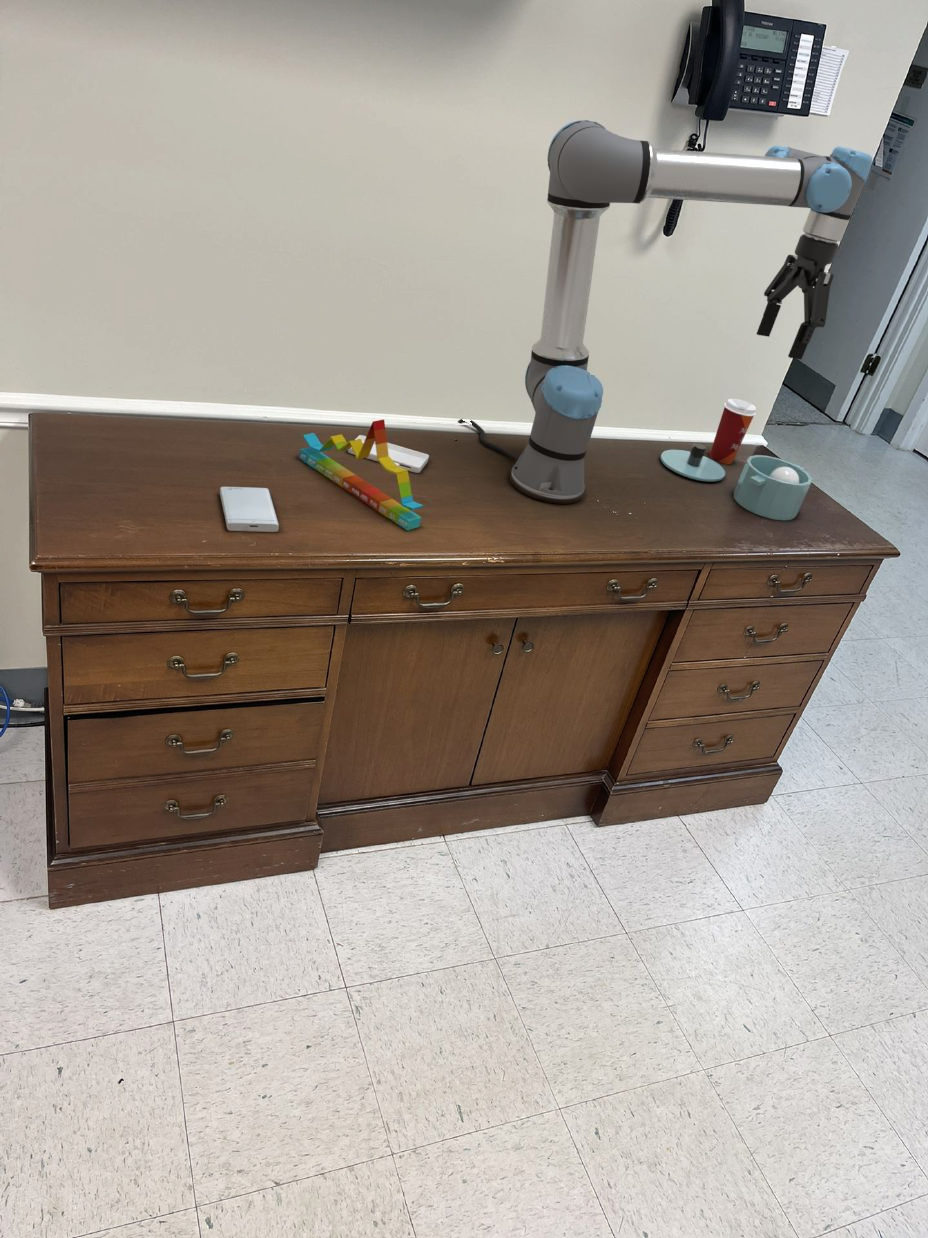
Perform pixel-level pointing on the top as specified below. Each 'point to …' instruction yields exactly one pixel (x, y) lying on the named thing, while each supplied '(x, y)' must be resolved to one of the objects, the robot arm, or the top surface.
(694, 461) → the lid
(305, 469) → the top surface
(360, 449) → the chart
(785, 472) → the lightbulb
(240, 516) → the hard drive
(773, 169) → the robot arm
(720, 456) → the paper cup
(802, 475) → the pot
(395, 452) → the phone case
